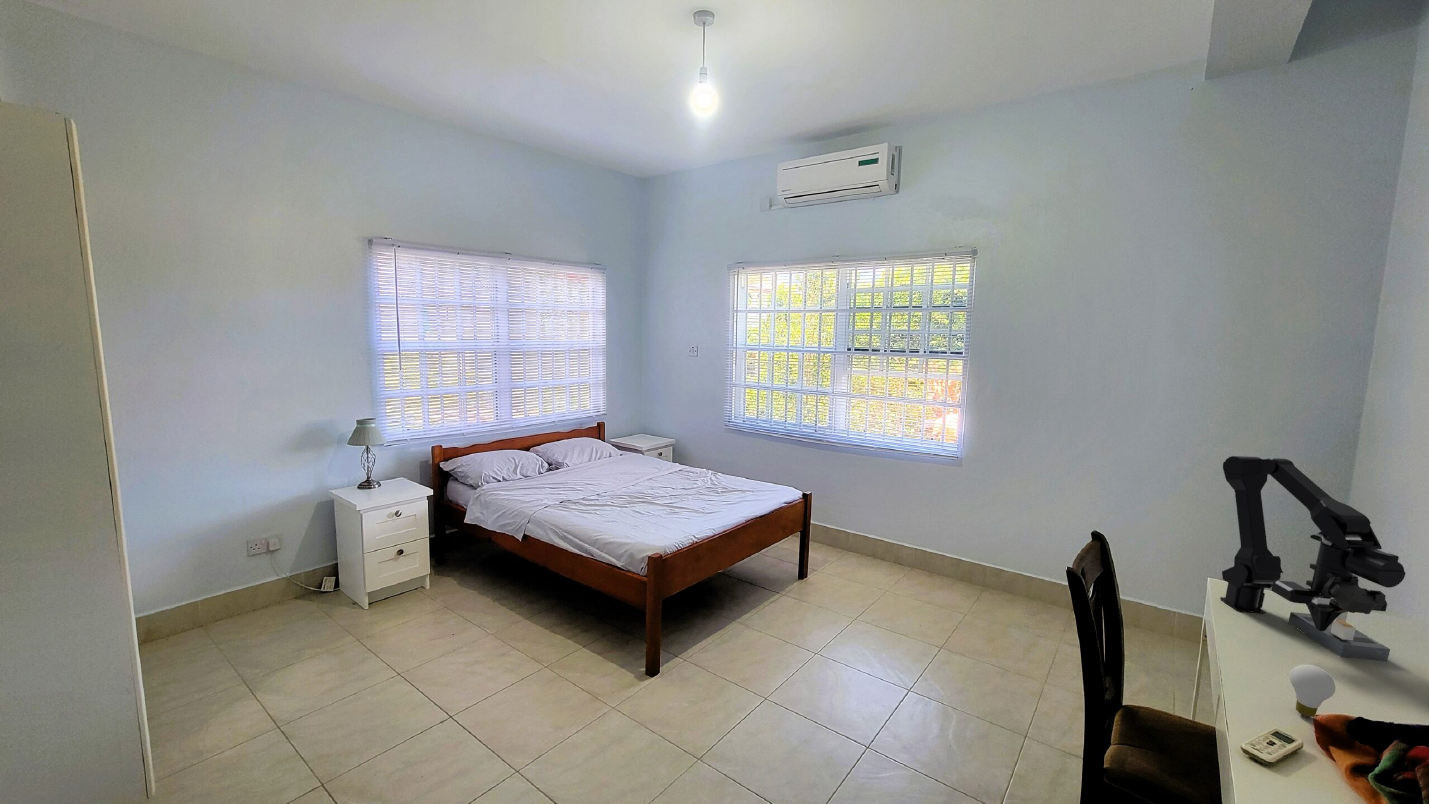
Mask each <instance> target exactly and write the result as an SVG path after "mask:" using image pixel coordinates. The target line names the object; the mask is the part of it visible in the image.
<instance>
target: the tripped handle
mask: <svg viewBox="0 0 1429 804" xmlns="http://www.w3.org/2000/svg"><path fill="white" fill-rule="evenodd" d="M1355 629H1356V627H1354V626H1353V625H1352V624H1350V623H1348V622H1347V621H1346V622H1345V621H1341V620H1334V621H1333V623H1332V628H1331V633H1333V634H1334V635H1336V636H1338V637H1339V638H1341V639H1343V640H1353V638H1354V633H1355ZM1356 630H1357V629H1356Z"/></svg>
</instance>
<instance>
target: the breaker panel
mask: <svg viewBox="0 0 1429 804" xmlns="http://www.w3.org/2000/svg"><path fill="white" fill-rule="evenodd" d="M1289 623H1290V624H1291V625H1290V624H1289ZM1332 623H1333V622H1332ZM1332 623H1331V624H1330V625H1329V627H1328V628H1327V629H1326V630H1325V631H1319V630H1317V629H1316V627H1315V624H1314V622H1313V619H1312V616H1311V614H1310V613H1304V612H1295V611H1290V613H1289V618H1288V624H1289V625H1290V626H1292V625H1293V626H1294V627H1293V626H1292V627H1293V628H1295V627H1296V628H1295V629H1297V628H1298V629H1299V630H1298V629H1297V630H1298V631H1300V630H1301V631H1302V632H1301V631H1300V632H1301V633H1303V632H1304V633H1303V634H1305V636H1308V637H1309V638H1310V639H1313V641H1315V640H1316V641H1315V642H1317V641H1318V642H1319V643H1318V642H1317V643H1318V644H1320V645H1322V646H1323V645H1324V646H1323V647H1324V648H1326V647H1327V648H1326V649H1328V650H1329V649H1330V650H1329V651H1332V652H1333V653H1334V654H1336V655H1338V656H1339V657H1341V658H1351V659H1359V660H1366V661H1367V660H1368V661H1369V660H1370V661H1379V662H1388V661H1389V656H1390V652H1391V648H1389V647H1388V646H1387V645H1386V646H1385V645H1384V644H1382V643H1381V642H1379V641H1377V640H1375V639H1374V638H1372V637H1369V636H1368V635H1367V634H1365V633H1363V632H1361V631H1359V630H1358V629H1355V633H1354V638H1353V640H1343V639H1341V638H1339V637H1338V636H1336V635H1334V634H1333V633H1331V628H1332Z"/></svg>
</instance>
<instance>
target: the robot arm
mask: <svg viewBox="0 0 1429 804" xmlns="http://www.w3.org/2000/svg"><path fill="white" fill-rule="evenodd" d="M1222 470H1223V473H1224V477H1225V481H1226V482H1227V483H1228V484H1229V485H1230V487H1231V488H1232V490H1234V496H1235V497H1234V498H1235V505H1236V512H1237V514H1236V515H1237V523H1238V531H1239V540H1240V541H1239V542H1240V548H1239V549H1238V551H1237V552H1236V554H1235V556H1234V560H1233V561H1234V562H1233V563H1234V564H1233V566H1231V567H1230V568H1227V569H1224V570H1222V571H1221V574H1222V577H1221V578H1222V580H1223V581H1225V582H1226V583H1227V588H1226V592H1225V597H1223V596H1220V598H1219V599H1220V600H1221V601H1222V602H1224V603H1225V604H1227V605H1229V606H1230V607H1231V608H1232V609H1234V610H1236V611H1238V612H1244V613H1245V612H1247V613H1256V614H1266V611H1265V610H1264V609H1262V608H1263V605H1264V602H1265V601H1264V600H1265V597H1266V596H1265V595H1266V594H1265V593H1266V592H1265V589H1270V591H1272V592H1273V593H1275V594H1277V595H1278V596H1280V597H1281V598H1283V599H1285V600H1286V601H1288V602H1291V603H1294V604H1302V605H1304V604H1305V605H1306V607H1307V609H1308V612H1309V614H1311V616H1312V619H1313V622H1314V624H1315V627H1316V629H1317V630H1319V631H1325V630H1326V629H1327V628H1328V627H1329V625H1330V624H1331V623H1332V622H1333V621H1334V620H1335V619H1336V618H1337V617H1338V616H1339V615H1340V614H1342V613H1345V612H1348V613H1352V614H1354V613H1359V614H1364V615H1370V614H1371V612H1372V611H1376V612H1386V611H1387V607H1388V602H1387V600H1386V594H1385V593H1383V591H1381V590H1373V589H1367V588H1366V587H1365V588H1362V587H1360V586H1359V581H1360V580H1359V577H1360V578H1362V579H1365V580H1367V581H1369V582H1372V583H1374V584H1376V585H1379V586H1381V587H1384V588H1390V589H1391V588H1394V587H1397V586H1398V585H1400V584H1401V583H1402V582H1403V581H1404V580H1405V577H1406V571H1405V568H1404V566H1403V564H1402V563H1401V562H1399V559H1400V557H1399V555H1396V554H1394V553H1389V552H1385V551H1382V549H1383V548H1382V546H1381V544H1380V541H1379V540H1378V538H1377V536H1376V534H1375V531H1374V530H1373V528H1372V526H1371V523H1372V522H1371V520H1370V519H1369V518H1368V517H1367V515H1365V514H1364V513H1362V512H1360V511H1358V510H1357V509H1355V508H1354V507H1352V506H1350V505H1348V504H1345V503H1343V502H1340V501H1338V500H1336V498H1333V497H1332V496H1330V495H1329V494H1328V493H1327V492H1325V491H1324V489H1322V488H1321V487H1320V486H1318V484H1316V483H1315V482H1314V481H1313V480H1311V479H1310V478H1309V477H1308V476H1307V475H1305V474H1304V473H1303V472H1302V471H1301V470H1300V469H1298V467H1297V466H1295V464H1294V462H1293V461H1291V460H1289V459H1288V458H1282V457H1281V458H1279V457H1278V458H1277V457H1274V458H1273V457H1270V458H1269V457H1268V458H1265V459H1264V458H1261V457H1258V456H1242V455H1241V456H1240V455H1239V456H1238V455H1237V456H1236V455H1232V456H1229V457H1227V458H1226V459H1225V460H1224V461H1223V463H1222ZM1268 475H1269V476H1271V477H1272V478H1273V479H1274V480H1275V481H1277V482H1278V484H1279V485H1281V486H1282V487H1283V488H1284V489H1285V490H1286V491H1287V492H1288V493H1290V494H1291V495H1292V496H1293V497H1294V498H1295V499H1296V500H1297V501H1298V502H1300V503H1301V504H1302V506H1304V507H1305V508H1306V509H1307V510H1308V511H1309V514H1310V519H1311V520H1312V522H1313V523H1314V525H1315V527H1317V528H1318V529H1319V532H1318V533H1314V534H1311V535H1309V537H1310V539H1313V540H1316V541H1318V542H1320V544H1319V546H1318V551H1317V556H1316V561H1315V563H1310V564H1309V568H1310V569H1312V570H1314V571H1313V574H1312V579H1311V580H1310V579H1309V580H1308V579H1307V580H1306V582H1305V585H1307V586H1308V587H1310V588H1307V587H1303V586H1302V585H1300V584H1298V583H1297V582H1295V581H1286V580H1281V577H1282V576H1281V575H1282V574H1284V571H1283V569H1282V567H1281V566H1282V564H1281V562H1282V560H1281V557H1280V555H1279V556H1278V555H1273V553H1272V552H1271V551H1270V550H1269V548H1268V543H1267V542H1268V540H1267V531H1266V524H1265V517H1264V516H1265V515H1264V507H1263V499H1262V490H1263V488H1264V487H1265V485H1266V483H1267V482H1268Z"/></svg>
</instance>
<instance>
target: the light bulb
mask: <svg viewBox="0 0 1429 804" xmlns="http://www.w3.org/2000/svg"><path fill="white" fill-rule="evenodd" d="M1289 681H1290V684H1291V686H1292V687H1293V690H1294V693H1295V699H1296V703H1295V710H1296V711H1297V712H1298V714H1300V715H1301V716H1302V717H1304V716H1305V717H1304V718H1314V717H1316V716H1317V711H1318V709H1319V707H1321V705H1322V703H1323V702H1325V701H1326V700H1329V699H1330V698H1332V697H1333V696H1334V694H1335V692H1336V682H1335V681H1334V679H1333V678H1332V676H1331V675H1330V674H1329V672H1327V671H1325V670H1324V669H1322V668H1321V667H1318V666H1316V665H1313V664H1312V665H1311V664H1298V665H1296V666H1295V667H1293V668H1292V669H1291V671H1290V673H1289Z"/></svg>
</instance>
